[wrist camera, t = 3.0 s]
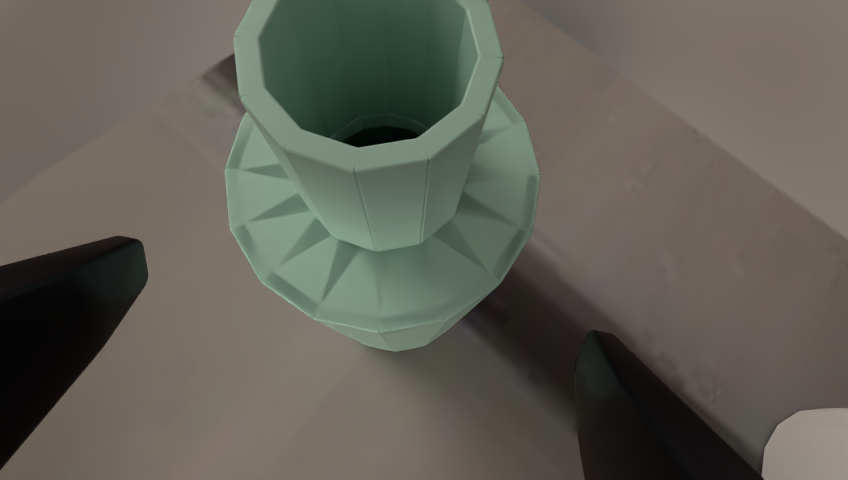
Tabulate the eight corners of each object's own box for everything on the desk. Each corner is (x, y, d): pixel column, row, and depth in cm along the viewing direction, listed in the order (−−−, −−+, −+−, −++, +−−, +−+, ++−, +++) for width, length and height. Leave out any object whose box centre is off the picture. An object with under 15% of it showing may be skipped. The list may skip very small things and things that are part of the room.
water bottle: (480, 335, 19) (694, 244, 5) (338, 364, 18) (109, 356, 4) (450, 202, 20) (547, -166, 6) (318, 225, 20) (99, -118, 6)
